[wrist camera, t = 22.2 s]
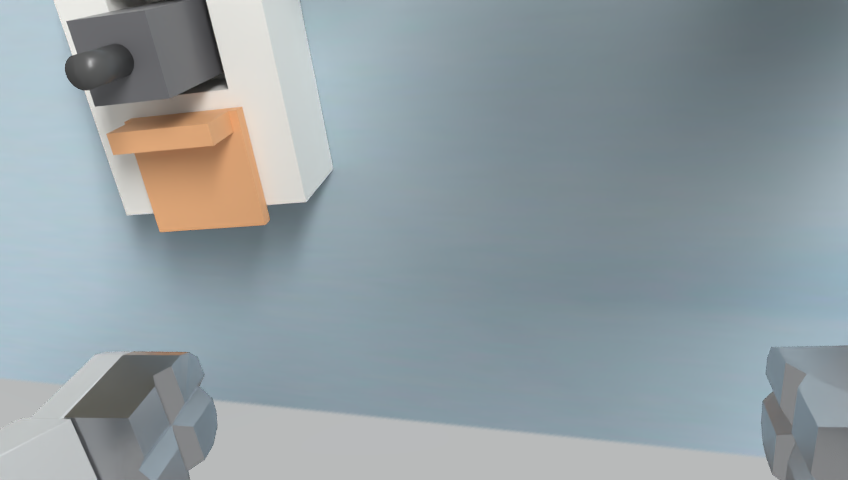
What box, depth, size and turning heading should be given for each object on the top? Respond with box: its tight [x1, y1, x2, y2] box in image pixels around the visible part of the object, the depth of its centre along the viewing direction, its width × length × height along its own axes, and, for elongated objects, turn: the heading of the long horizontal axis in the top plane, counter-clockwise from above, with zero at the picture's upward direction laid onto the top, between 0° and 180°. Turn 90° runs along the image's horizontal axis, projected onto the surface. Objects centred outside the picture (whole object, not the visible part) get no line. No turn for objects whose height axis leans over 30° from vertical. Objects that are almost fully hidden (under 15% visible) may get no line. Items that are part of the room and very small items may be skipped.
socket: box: [54, 0, 333, 215], centre depth 41 cm, size 16×12×6 cm
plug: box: [65, 0, 224, 107], centre depth 36 cm, size 4×4×12 cm
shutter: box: [106, 107, 270, 232], centre depth 39 cm, size 7×7×3 cm
